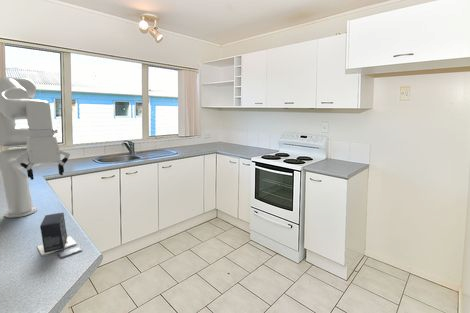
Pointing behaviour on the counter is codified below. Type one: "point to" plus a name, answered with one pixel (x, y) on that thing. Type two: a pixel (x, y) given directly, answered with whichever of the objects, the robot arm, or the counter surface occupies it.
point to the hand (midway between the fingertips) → (46, 176)
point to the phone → (69, 252)
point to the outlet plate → (68, 243)
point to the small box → (53, 232)
